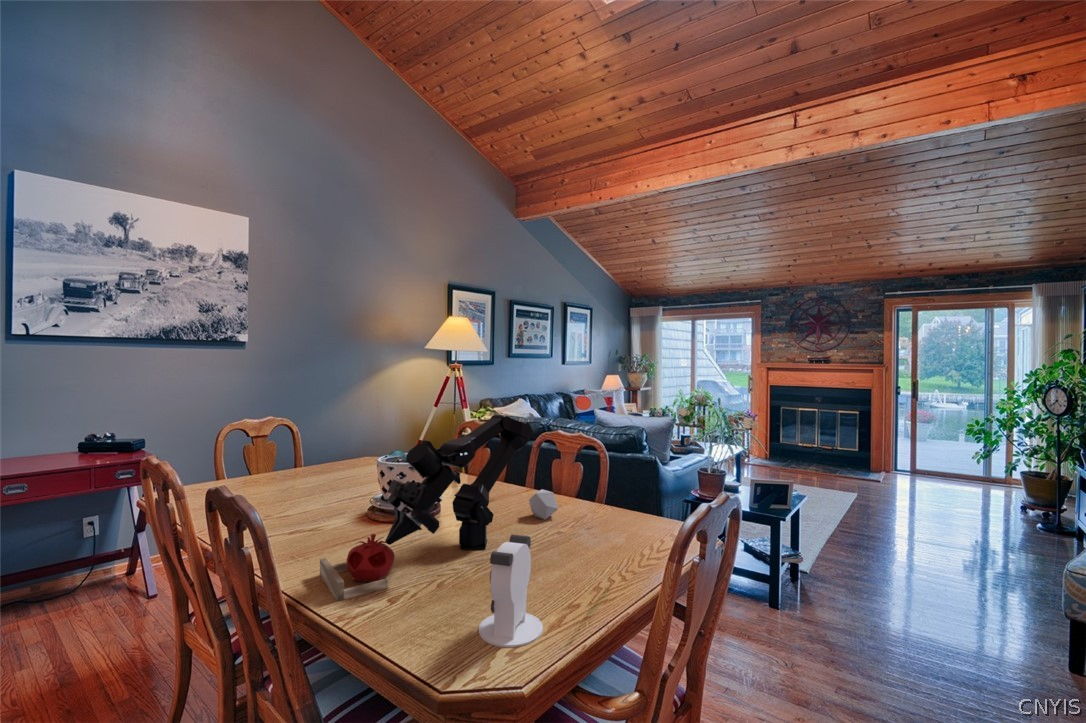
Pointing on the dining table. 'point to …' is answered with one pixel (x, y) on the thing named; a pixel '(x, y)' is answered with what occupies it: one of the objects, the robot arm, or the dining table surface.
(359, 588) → the cradle
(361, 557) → the pomegranate
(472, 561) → the dining table surface
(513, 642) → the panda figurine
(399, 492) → the robot arm
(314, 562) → the dining table surface
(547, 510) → the die
